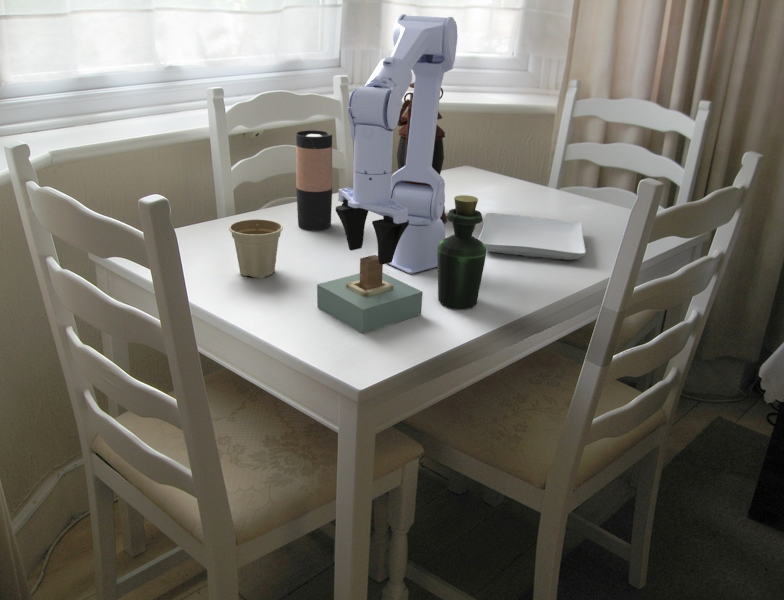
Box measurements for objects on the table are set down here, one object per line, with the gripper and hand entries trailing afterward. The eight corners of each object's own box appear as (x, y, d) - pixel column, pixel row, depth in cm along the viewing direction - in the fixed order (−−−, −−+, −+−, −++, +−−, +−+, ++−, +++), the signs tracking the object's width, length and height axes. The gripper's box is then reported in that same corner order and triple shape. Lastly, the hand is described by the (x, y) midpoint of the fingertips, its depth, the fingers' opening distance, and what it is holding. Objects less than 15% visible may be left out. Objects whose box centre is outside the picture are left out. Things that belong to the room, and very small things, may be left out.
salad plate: (584, 268, 138) (587, 251, 136) (475, 257, 141) (477, 240, 140) (580, 235, 157) (582, 220, 156) (484, 226, 161) (485, 211, 159)
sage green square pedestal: (374, 290, 122) (375, 265, 121) (421, 314, 114) (422, 288, 112) (317, 306, 115) (317, 280, 113) (362, 333, 107) (363, 305, 105)
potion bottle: (491, 302, 120) (502, 199, 113) (462, 316, 114) (472, 208, 107) (452, 289, 125) (460, 189, 117) (423, 301, 119) (430, 197, 112)
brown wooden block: (359, 304, 114) (360, 258, 111) (373, 300, 116) (375, 254, 113) (366, 309, 113) (368, 262, 110) (381, 304, 115) (383, 258, 111)
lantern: (431, 233, 153) (440, 90, 141) (373, 223, 158) (377, 84, 146) (458, 213, 168) (468, 82, 156) (404, 205, 173) (410, 77, 161)
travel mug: (291, 229, 152) (290, 135, 144) (304, 219, 159) (303, 129, 151) (325, 233, 150) (325, 138, 142) (336, 222, 157) (337, 132, 149)
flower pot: (260, 259, 134) (258, 215, 131) (294, 272, 129) (293, 226, 126) (220, 271, 128) (217, 226, 124) (254, 286, 122) (252, 238, 119)
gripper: (322, 163, 108) (322, 247, 114) (382, 184, 98) (379, 275, 104) (359, 158, 113) (357, 239, 118) (420, 177, 103) (415, 265, 108)
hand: (370, 255), depth 111 cm, fingers open, 7 cm apart
